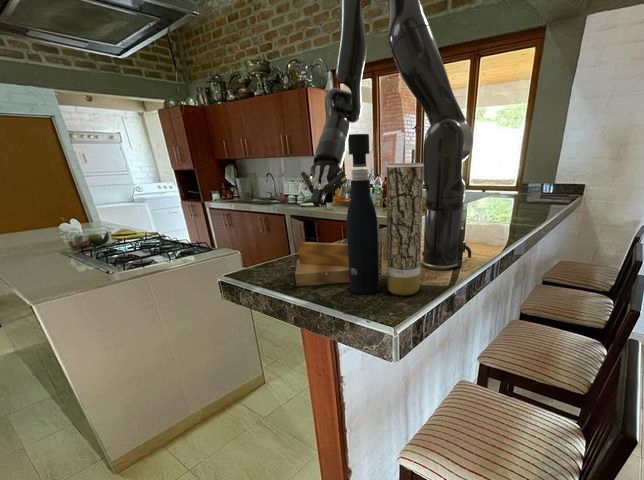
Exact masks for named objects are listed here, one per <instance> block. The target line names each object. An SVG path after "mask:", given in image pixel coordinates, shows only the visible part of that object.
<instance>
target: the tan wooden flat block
mask: <svg viewBox="0 0 644 480" xmlns="http://www.w3.org/2000/svg"><path fill="white" fill-rule="evenodd" d="M297 251H298V260H299V261H300V263H301V264H318V265H334V266H349V261H348V244H347V243H339V242H338V243H337V242H316V241H315V242H312V241H305V240H299V241H298V242H297Z"/></svg>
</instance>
